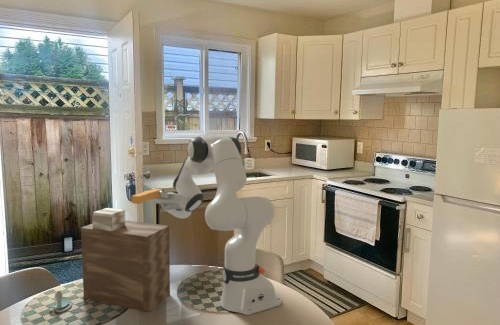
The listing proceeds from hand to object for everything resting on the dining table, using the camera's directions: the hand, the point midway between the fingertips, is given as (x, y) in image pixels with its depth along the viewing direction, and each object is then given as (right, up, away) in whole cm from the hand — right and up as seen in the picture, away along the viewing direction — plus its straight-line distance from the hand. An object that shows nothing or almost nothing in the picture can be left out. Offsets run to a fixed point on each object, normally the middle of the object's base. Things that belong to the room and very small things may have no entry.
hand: (155, 192), depth 166 cm
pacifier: (-25, -39, -32) cm, 56 cm away
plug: (-2, -2, -5) cm, 6 cm away
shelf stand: (-4, -37, -22) cm, 44 cm away
